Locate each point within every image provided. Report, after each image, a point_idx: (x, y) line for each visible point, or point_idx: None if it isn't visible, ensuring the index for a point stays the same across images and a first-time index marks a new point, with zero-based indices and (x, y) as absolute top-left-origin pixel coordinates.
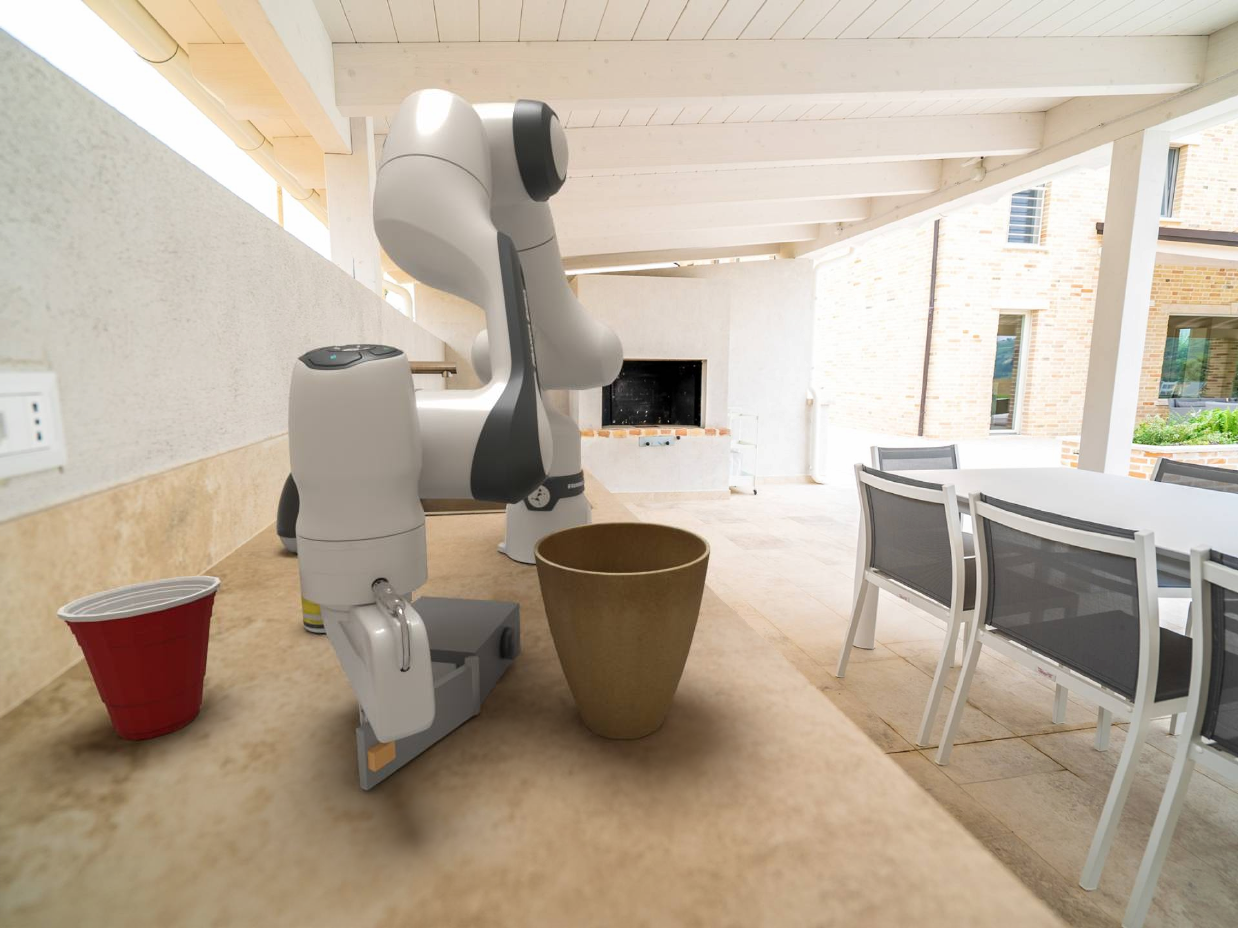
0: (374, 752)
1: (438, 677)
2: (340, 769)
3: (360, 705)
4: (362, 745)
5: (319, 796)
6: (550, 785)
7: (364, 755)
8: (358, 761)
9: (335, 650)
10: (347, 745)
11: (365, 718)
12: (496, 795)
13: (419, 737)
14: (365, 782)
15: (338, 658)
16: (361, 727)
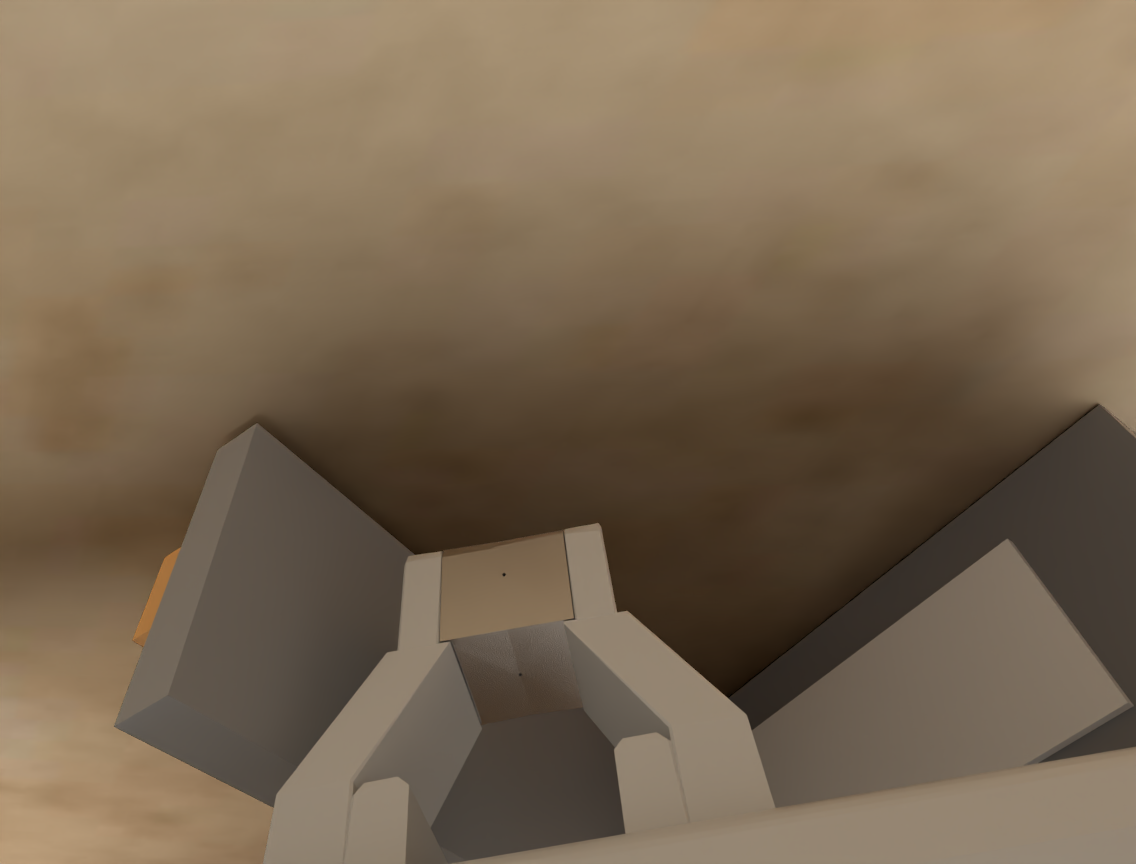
0: (142, 643)
1: (808, 797)
2: (479, 325)
3: (583, 639)
4: (161, 628)
5: (274, 237)
6: (128, 859)
7: (166, 587)
8: (228, 517)
9: (1101, 840)
10: (684, 350)
11: (414, 660)
12: (108, 765)
13: None
14: (218, 468)
15: (974, 808)
16: (170, 716)
